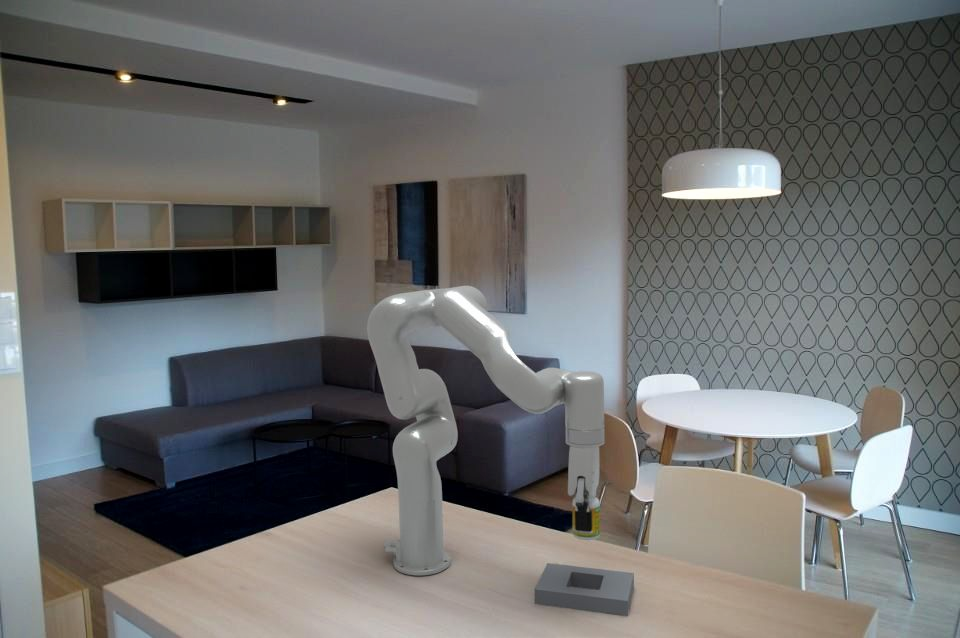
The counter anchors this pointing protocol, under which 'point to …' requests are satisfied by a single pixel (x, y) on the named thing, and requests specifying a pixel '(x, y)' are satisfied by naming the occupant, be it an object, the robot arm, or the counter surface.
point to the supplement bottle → (595, 520)
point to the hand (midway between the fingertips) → (586, 523)
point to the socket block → (608, 599)
